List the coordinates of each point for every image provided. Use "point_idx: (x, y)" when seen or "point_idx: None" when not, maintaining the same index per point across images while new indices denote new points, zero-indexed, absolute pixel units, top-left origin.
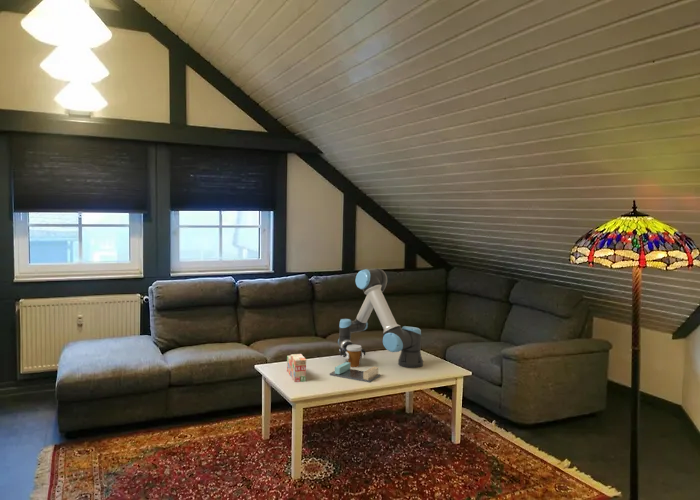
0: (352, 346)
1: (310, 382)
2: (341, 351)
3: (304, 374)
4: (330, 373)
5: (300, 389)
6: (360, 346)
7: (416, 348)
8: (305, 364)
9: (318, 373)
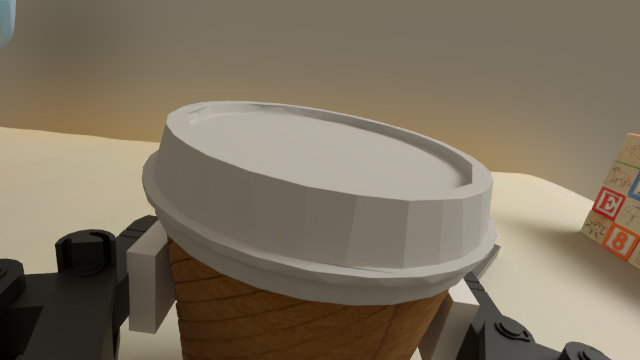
0: (362, 159)
1: (548, 219)
2: (585, 351)
3: (599, 202)
4: (495, 244)
5: (546, 193)
6: (193, 120)
7: None
8: (619, 156)
9: (591, 297)
